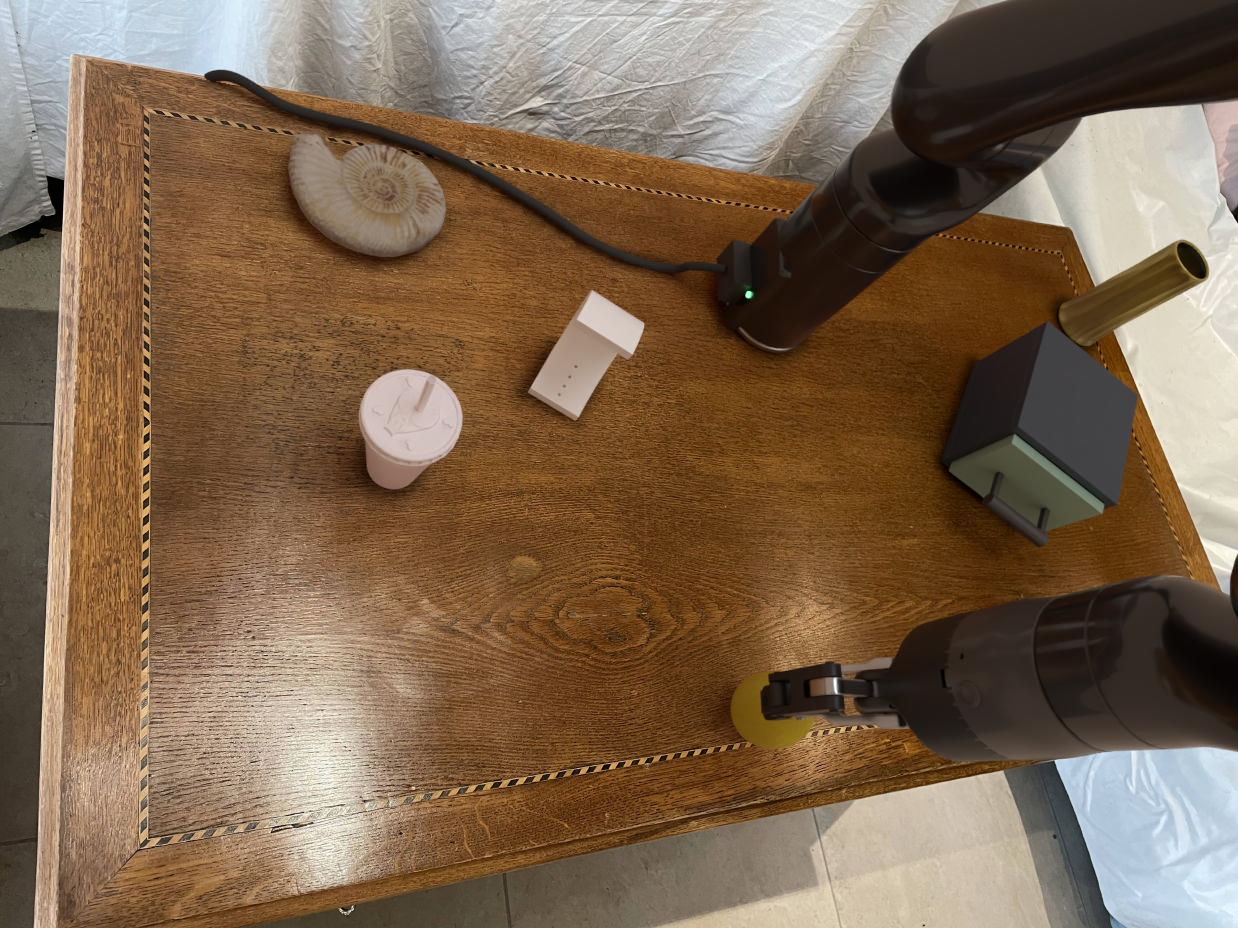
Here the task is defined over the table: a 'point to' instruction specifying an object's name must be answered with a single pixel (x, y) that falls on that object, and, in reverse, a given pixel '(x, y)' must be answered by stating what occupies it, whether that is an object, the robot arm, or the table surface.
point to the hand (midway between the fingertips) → (820, 706)
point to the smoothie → (407, 425)
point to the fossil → (366, 196)
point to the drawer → (1025, 488)
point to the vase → (1133, 292)
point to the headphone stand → (585, 354)
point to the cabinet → (1049, 409)
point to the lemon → (753, 721)
